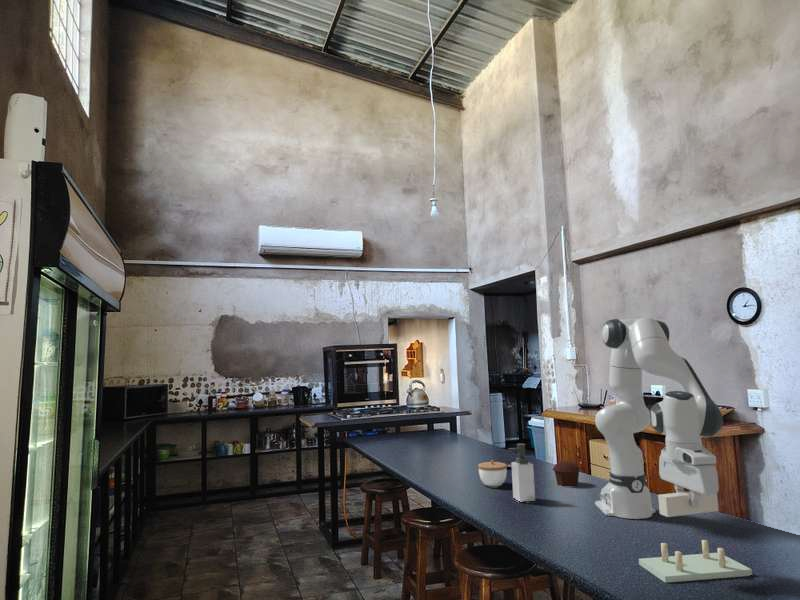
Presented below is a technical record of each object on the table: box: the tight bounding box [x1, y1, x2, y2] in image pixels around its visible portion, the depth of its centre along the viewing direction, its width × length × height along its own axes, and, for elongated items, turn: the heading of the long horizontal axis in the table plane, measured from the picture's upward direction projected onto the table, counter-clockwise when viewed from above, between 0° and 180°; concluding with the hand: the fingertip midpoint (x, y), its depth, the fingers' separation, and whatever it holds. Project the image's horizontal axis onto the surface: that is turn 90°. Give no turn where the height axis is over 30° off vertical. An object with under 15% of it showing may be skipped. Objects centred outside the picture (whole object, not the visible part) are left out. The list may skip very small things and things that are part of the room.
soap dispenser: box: [507, 443, 536, 502], centre depth 213 cm, size 6×9×22 cm
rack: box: [638, 539, 753, 584], centre depth 142 cm, size 24×12×6 cm, turn 96°
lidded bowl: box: [477, 459, 508, 487], centre depth 238 cm, size 13×13×11 cm
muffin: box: [552, 460, 581, 487], centre depth 236 cm, size 12×11×10 cm
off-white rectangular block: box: [657, 490, 719, 518], centre depth 143 cm, size 16×3×5 cm, turn 103°
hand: (688, 504), depth 143 cm, fingers closed on off-white rectangular block, 3 cm apart
